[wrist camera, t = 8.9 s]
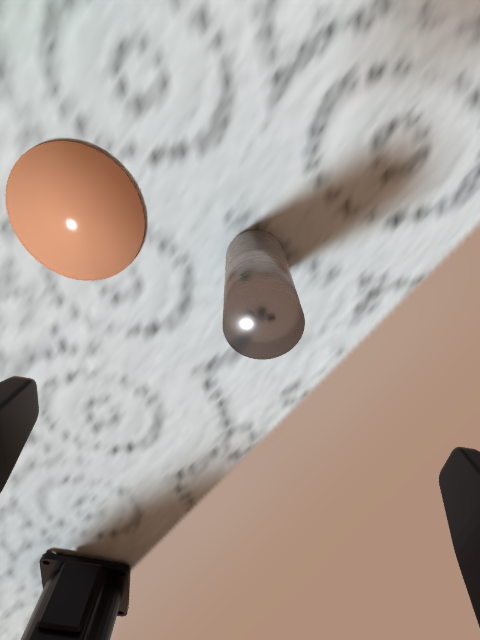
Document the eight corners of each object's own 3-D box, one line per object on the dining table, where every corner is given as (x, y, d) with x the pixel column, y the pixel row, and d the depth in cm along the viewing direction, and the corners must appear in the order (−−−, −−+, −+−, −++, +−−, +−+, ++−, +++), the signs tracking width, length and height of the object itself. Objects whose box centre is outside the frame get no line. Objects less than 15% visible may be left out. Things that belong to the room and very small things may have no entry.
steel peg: (283, 283, 19) (303, 357, 13) (227, 286, 19) (225, 361, 13) (284, 228, 17) (305, 286, 12) (224, 231, 17) (219, 290, 12)
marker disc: (141, 289, 19) (141, 290, 19) (14, 267, 19) (13, 268, 19) (148, 155, 16) (147, 155, 16) (-2, 128, 16) (-3, 128, 16)
